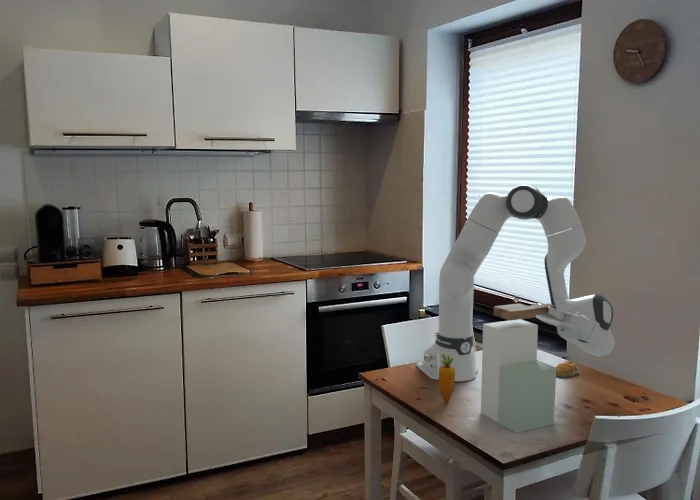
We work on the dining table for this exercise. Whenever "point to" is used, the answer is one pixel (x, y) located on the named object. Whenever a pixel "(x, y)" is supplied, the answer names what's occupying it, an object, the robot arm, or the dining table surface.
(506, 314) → the brown block
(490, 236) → the robot arm
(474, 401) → the dining table surface
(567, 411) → the dining table surface
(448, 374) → the carrot
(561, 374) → the pastry
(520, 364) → the white two-tone stepped block
